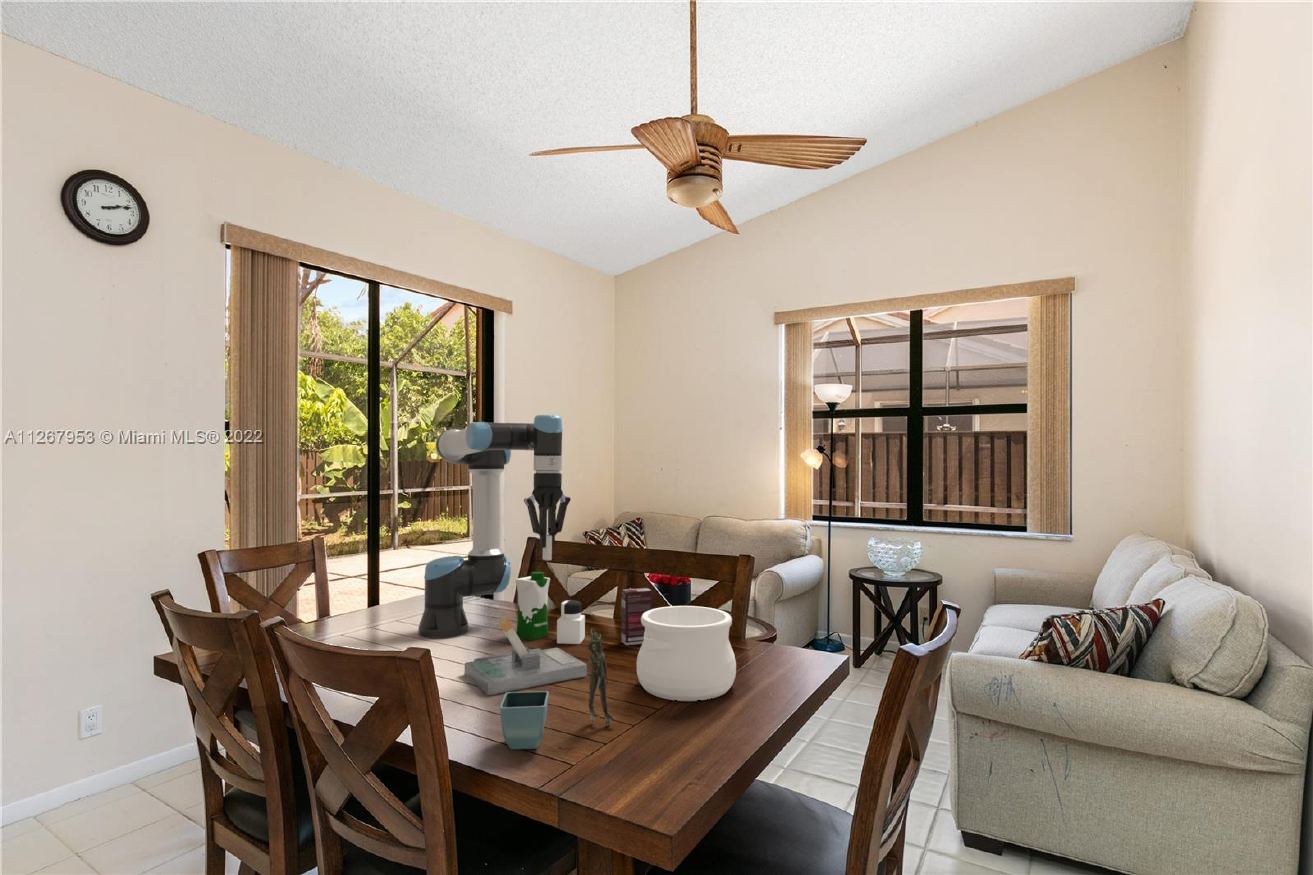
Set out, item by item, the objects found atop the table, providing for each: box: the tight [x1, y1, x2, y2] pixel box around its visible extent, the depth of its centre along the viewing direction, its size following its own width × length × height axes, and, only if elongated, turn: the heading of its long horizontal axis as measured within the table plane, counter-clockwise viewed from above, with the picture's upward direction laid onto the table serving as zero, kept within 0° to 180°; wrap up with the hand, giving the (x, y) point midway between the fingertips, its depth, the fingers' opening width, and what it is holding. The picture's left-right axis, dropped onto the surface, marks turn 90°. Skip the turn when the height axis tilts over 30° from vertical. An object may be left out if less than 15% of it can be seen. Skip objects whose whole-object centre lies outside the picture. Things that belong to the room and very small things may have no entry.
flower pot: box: [499, 690, 550, 750], centre depth 136 cm, size 9×9×9 cm
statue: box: [588, 628, 616, 727], centre depth 145 cm, size 5×6×20 cm
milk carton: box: [514, 570, 551, 641], centre depth 215 cm, size 9×9×20 cm
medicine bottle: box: [556, 599, 586, 645], centre depth 210 cm, size 7×7×12 cm
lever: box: [497, 616, 529, 659], centre depth 176 cm, size 4×2×13 cm
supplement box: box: [620, 587, 653, 646], centre depth 209 cm, size 9×5×16 cm, turn 110°
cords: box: [473, 648, 542, 661], centre depth 187 cm, size 5×21×3 cm, turn 123°
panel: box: [464, 646, 588, 696], centre depth 178 cm, size 18×26×6 cm
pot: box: [635, 605, 737, 702], centre depth 170 cm, size 26×24×18 cm
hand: (547, 559), depth 187 cm, fingers closed
